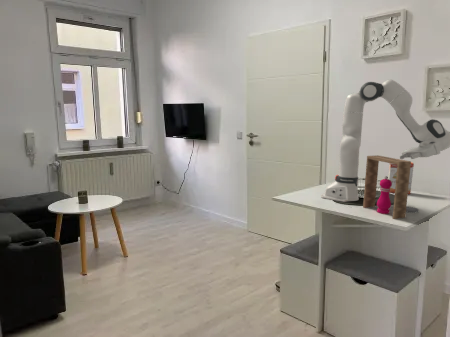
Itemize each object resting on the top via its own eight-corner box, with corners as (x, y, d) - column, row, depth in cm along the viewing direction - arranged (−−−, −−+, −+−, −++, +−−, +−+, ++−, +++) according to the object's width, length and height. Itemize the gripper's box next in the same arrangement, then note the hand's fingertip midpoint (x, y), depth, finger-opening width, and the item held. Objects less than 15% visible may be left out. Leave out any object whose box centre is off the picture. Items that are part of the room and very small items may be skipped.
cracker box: (387, 192, 248) (390, 161, 244) (386, 190, 253) (389, 160, 250) (410, 194, 244) (414, 163, 240) (409, 192, 249) (412, 161, 246)
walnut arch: (393, 219, 189) (399, 162, 184) (363, 207, 211) (367, 155, 206) (405, 217, 192) (410, 161, 187) (373, 206, 213) (377, 155, 208)
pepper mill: (385, 215, 196) (389, 178, 193) (373, 211, 202) (376, 175, 199) (393, 212, 200) (396, 176, 197) (380, 209, 206) (383, 174, 203)
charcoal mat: (395, 210, 205) (396, 209, 205) (397, 206, 214) (397, 205, 214) (418, 213, 200) (418, 212, 199) (418, 208, 209) (418, 207, 209)
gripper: (412, 144, 214) (392, 153, 212) (438, 142, 194) (416, 151, 192) (416, 154, 215) (396, 163, 213) (442, 153, 194) (420, 163, 192)
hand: (406, 157), depth 202 cm, fingers open, 8 cm apart
